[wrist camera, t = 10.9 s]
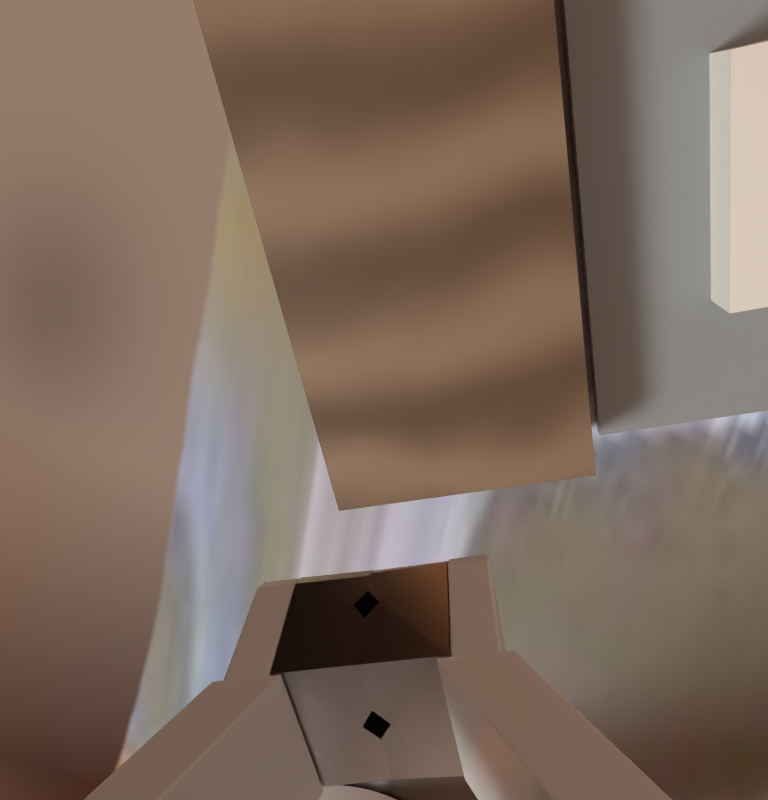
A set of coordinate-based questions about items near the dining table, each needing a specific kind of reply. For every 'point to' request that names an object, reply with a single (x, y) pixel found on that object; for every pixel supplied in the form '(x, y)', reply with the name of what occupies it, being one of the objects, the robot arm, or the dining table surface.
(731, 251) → the cream flat block
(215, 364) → the dining table surface
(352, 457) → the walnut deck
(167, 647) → the dining table surface
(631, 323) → the grey mat
